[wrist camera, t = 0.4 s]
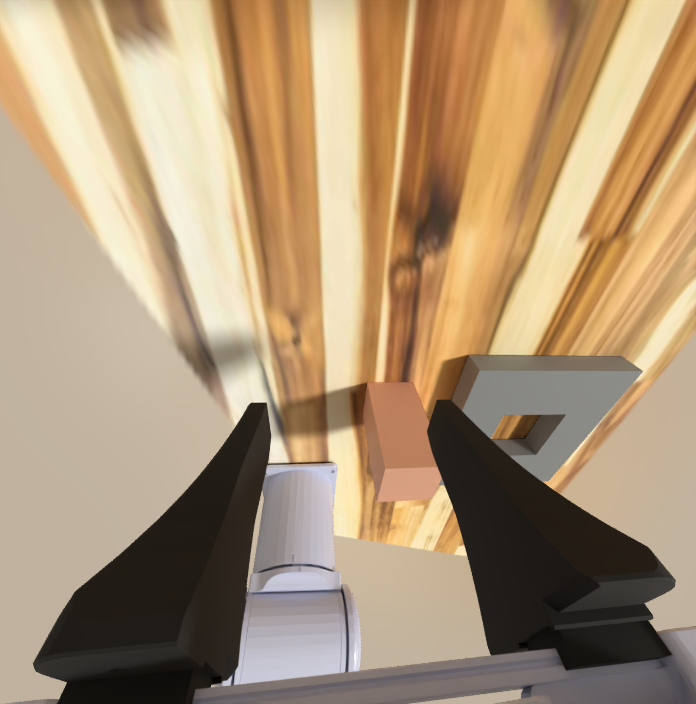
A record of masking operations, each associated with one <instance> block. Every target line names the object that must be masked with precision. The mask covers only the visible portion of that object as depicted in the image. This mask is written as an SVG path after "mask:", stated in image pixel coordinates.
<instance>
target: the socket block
mask: <svg viewBox="0 0 696 704" xmlns="http://www.w3.org/2000/svg"><path fill="white" fill-rule="evenodd" d="M642 372H643V371H642V370H641V369H639V368H638V367H636V366H635V365H633V364H632V363H631V362H629V361H628V360H626V359H625V358H623V357H618V356H523V355H468V358H467V360H466V363H465V366H464V368H463V371H462V373H461V376H460V378H459V381H458V384H457V386H456V389H455V391H454V394H453V396H452V399H451V401H452V402H453V403H455V404H456V405H457V406H458V407H459V408H460V409H461V410H462V411H463V412H464V413H465V414H466V415H467V417H468V418H469V419H471V420H472V421H473V422H474V423H475V424H476V425H477V426H478V427H479V428H480V429H481V430H482V431H483V432H484V433H485V434H486V435H487V436H488V437H489V438H490V439H491V437H492V435H493V433H494V432H495V430H496V428H497V426H498V425H499V423H500V421H501V419H502V417H503V416H504V415H540V417H539V418H538V420H537V421H536V423H535V424H534V426H533V427H532V429H531V430H530V432H529V433H528V435H527V436H526V438H525V439H491V440H492V441H493V442H494V443H495V444H497V445H498V446H499V447H500V448H501V449H502V450H503V451H504V452H506V453H507V454H508V455H509V456H510V457H511V458H512V459H514V460H515V461H516V462H517V463H518V464H520V465H521V466H522V467H523V468H525V469H526V470H527V471H529V472H530V473H531V474H532V475H534V476H535V477H536V478H538V479H539V480H540V481H549V480H550V479H551V478H552V477H553V475H554V474H555V473H556V472H557V471H558V470H559V468H560V467H561V466H562V465H563V464H564V463H565V461H566V460H567V459H568V458H569V457H570V456H571V454H572V453H573V452H574V451H575V450H576V449H577V447H578V446H579V445H580V444H581V443H582V442H583V441H584V439H585V438H586V437H587V436H588V435H589V434H590V432H591V431H592V430H593V429H594V428H595V427H596V425H597V424H598V423H599V422H600V421H601V420H602V418H603V417H604V416H605V415H606V414H607V413H608V411H609V410H610V409H611V408H612V407H613V406H614V405H615V403H616V402H617V401H618V400H619V399H620V398H621V396H622V395H623V394H624V393H625V392H626V391H627V389H628V388H629V387H630V386H631V385H632V384H633V382H634V381H635V380H636V379H637V378H638V377H639V375H640V374H641V373H642ZM439 485H444V482H443V480H442V479H441V481H440V483H439Z"/></svg>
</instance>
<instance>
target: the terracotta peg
mask: <svg viewBox="0 0 696 704" xmlns="http://www.w3.org/2000/svg"><path fill="white" fill-rule="evenodd" d="M363 421H364V427H365V433H366V439H367V445H368V451H369V457H370V463H371V469H372V475H373V481H374V487H375V493H376V499H377V502H386V501H407V500H427V499H432V498H433V496H434V494H435V492H436V489H437V487H438V485H439V483H440V481H441V479H442V477H441V475H440V472H439V470H438V467H437V465H436V462H435V459H434V457H433V454H432V451H431V447H430V443H429V439H428V435H427V429H428V426H429V420H428V418H427V415H426V413H425V410H424V408H423V405H422V403H421V400H420V398H419V395H418V393H417V390H416V388H415V385H414V383H413V382H367V388H366V395H365V402H364V408H363Z"/></svg>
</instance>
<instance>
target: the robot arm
mask: <svg viewBox="0 0 696 704" xmlns="http://www.w3.org/2000/svg"><path fill="white" fill-rule="evenodd" d="M427 435H428V439H429V443H430V447H431V451H432V454H433V457H434V459H435V462H436V465H437V467H438V470H439V472H440V475H441V477H442V480H443V482H444V485H445V488H446V490H447V493H448V495H449V498H450V500H451V503H452V505H453V508H454V511H455V514H456V517H457V521H458V524H459V527H460V531H461V534H462V538H463V541H464V545H465V549H466V553H467V556H468V560H469V564H470V568H471V572H472V576H473V580H474V584H475V589H476V593H477V597H478V602H479V607H480V611H481V616H482V621H483V626H484V631H485V636H486V641H487V646H488V649H489V651H490V654H491V656H484V657H476V658H466V659H457V660H448V661H440V662H431V663H422V664H414V665H405V666H396V667H387V668H379V669H370V670H361V671H359V668H360V654H361V638H360V624H359V614H358V608H357V604H356V600H355V597H354V595H353V593H352V592H351V591H350V589H349V587H348V586H347V585H346V584H341V574H340V572H335V550H334V524H333V509H334V499H335V487H336V476H337V465H336V464H335V463H320V464H288V465H268V460H269V452H270V442H271V430H270V423H269V416H268V409H267V403H250V404H249V405H248V407H247V409H246V411H245V412H244V414H243V416H242V417H241V419H240V421H239V422H238V424H237V425H236V427H235V428H234V430H233V431H232V433H231V434H230V436H229V437H228V439H227V440H226V442H225V443H224V444H223V446H222V447H221V449H220V450H219V451H218V452H217V454H216V455H215V456H214V458H213V459H212V460H211V461H210V463H209V464H208V465H207V467H206V468H205V469H204V470H203V471H202V473H201V474H200V475H199V476H198V477H197V479H196V480H195V481H194V482H193V483H192V484H191V485H190V487H189V488H188V489H187V490H186V491H185V492H184V493H183V494H182V496H180V497H179V499H178V500H177V501H176V502H175V503H174V504H173V505H172V506H171V507H170V508H169V509H168V510H167V511H166V512H165V513H164V514H163V515H162V516H161V517H160V518H159V519H158V520H157V521H156V522H155V523H154V524H153V525H152V526H150V527H149V528H148V529H147V530H146V531H145V532H144V533H143V534H142V535H141V536H140V537H139V538H137V539H136V540H135V541H134V542H133V543H132V544H131V545H130V546H129V547H128V548H127V549H126V550H124V551H123V552H122V553H121V554H120V555H119V556H117V557H116V558H115V559H114V560H113V561H111V562H110V563H109V564H108V565H107V566H105V567H104V568H103V569H102V570H101V571H99V572H98V573H97V574H96V575H95V576H93V577H92V578H91V579H90V580H89V581H87V582H86V583H85V584H84V585H82V586H81V587H80V588H79V589H78V590H76V591H75V592H74V594H73V596H72V598H71V599H70V600H69V602H68V603H67V605H66V606H65V608H64V609H63V611H62V613H61V614H60V616H59V617H58V619H57V621H56V623H55V625H54V626H53V628H52V630H51V632H50V633H49V635H48V637H47V639H46V641H45V643H44V645H43V646H42V648H41V650H40V652H39V654H38V655H37V657H36V659H35V661H34V663H33V665H34V669H35V671H36V672H38V673H40V674H43V675H46V676H49V677H52V678H55V679H59V680H61V681H64V682H67V684H66V686H65V688H64V690H63V693H62V694H61V697H60V699H59V700H58V699H43V700H32V701H24V702H15V703H6V704H409V703H416V702H425V701H432V700H440V699H447V698H456V697H464V696H471V695H479V694H487V693H495V692H502V691H510V690H517V689H523V691H522V693H521V699H518V700H512V701H507V702H502V703H496V704H696V626H693V627H684V628H675V629H667V630H662V631H658V632H656V631H655V629H654V628H653V626H652V625H651V624H650V622H649V621H648V620H651V619H653V615H652V614H651V612H650V611H649V609H648V608H647V607H646V605H645V604H644V603H646V602H648V601H650V600H652V599H655V598H656V597H659V596H661V595H663V594H665V593H666V592H668V591H670V590H672V589H673V588H674V587H675V581H676V580H675V579H674V578H673V576H672V575H671V574H670V573H669V572H668V570H667V569H666V568H665V567H664V565H663V564H662V563H661V562H660V561H659V560H658V558H657V557H656V556H655V555H654V553H653V552H652V551H651V550H650V549H649V548H648V547H647V546H645V545H643V544H642V543H640V542H638V541H636V540H634V539H632V538H631V537H629V536H627V535H625V534H624V533H622V532H620V531H618V530H616V529H615V528H613V527H611V526H609V525H607V524H606V523H604V522H602V521H601V520H599V519H598V518H596V517H594V516H593V515H591V514H589V513H588V512H586V511H584V510H583V509H581V508H580V507H578V506H577V505H575V504H574V503H572V502H570V501H569V500H567V499H566V498H564V497H563V496H562V495H560V494H559V493H557V492H556V491H554V490H553V489H551V488H550V487H549V486H547V485H546V484H544V483H543V482H542V481H540V480H539V479H538V478H536V477H535V476H534V475H532V474H531V473H530V472H529V471H527V470H526V469H525V468H523V467H522V466H521V465H520V464H518V463H517V462H516V461H515V460H514V459H512V458H511V457H510V456H509V455H508V454H507V453H506V452H504V451H503V450H502V449H501V448H500V447H499V446H498V445H497V444H495V443H494V442H493V441H492V440H491V439H490V438H489V437H488V436H487V435H486V434H485V433H484V432H483V431H482V430H481V429H480V428H479V427H478V426H477V425H476V424H475V423H474V422H473V421H472V420H471V419H469V418H468V417H467V415H466V414H465V413H464V412H463V411H462V410H461V409H460V408H459V407H458V406H457V405H456V404H455V403H453V402H452V401H451V400H437V402H436V405H435V408H434V411H433V414H432V417H431V420H430V423H429V426H428V429H427ZM262 490H263V496H264V504H263V509H262V516H261V522H260V529H259V536H258V542H257V548H256V555H255V561H254V568H253V573H252V574H251V577H250V583H249V590H248V592H247V587H246V586H247V578H248V569H249V561H250V553H251V546H252V537H253V531H254V524H255V519H256V514H257V509H258V505H259V501H260V496H261V492H262ZM214 684H215V687H213V688H211V685H214Z"/></svg>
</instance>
